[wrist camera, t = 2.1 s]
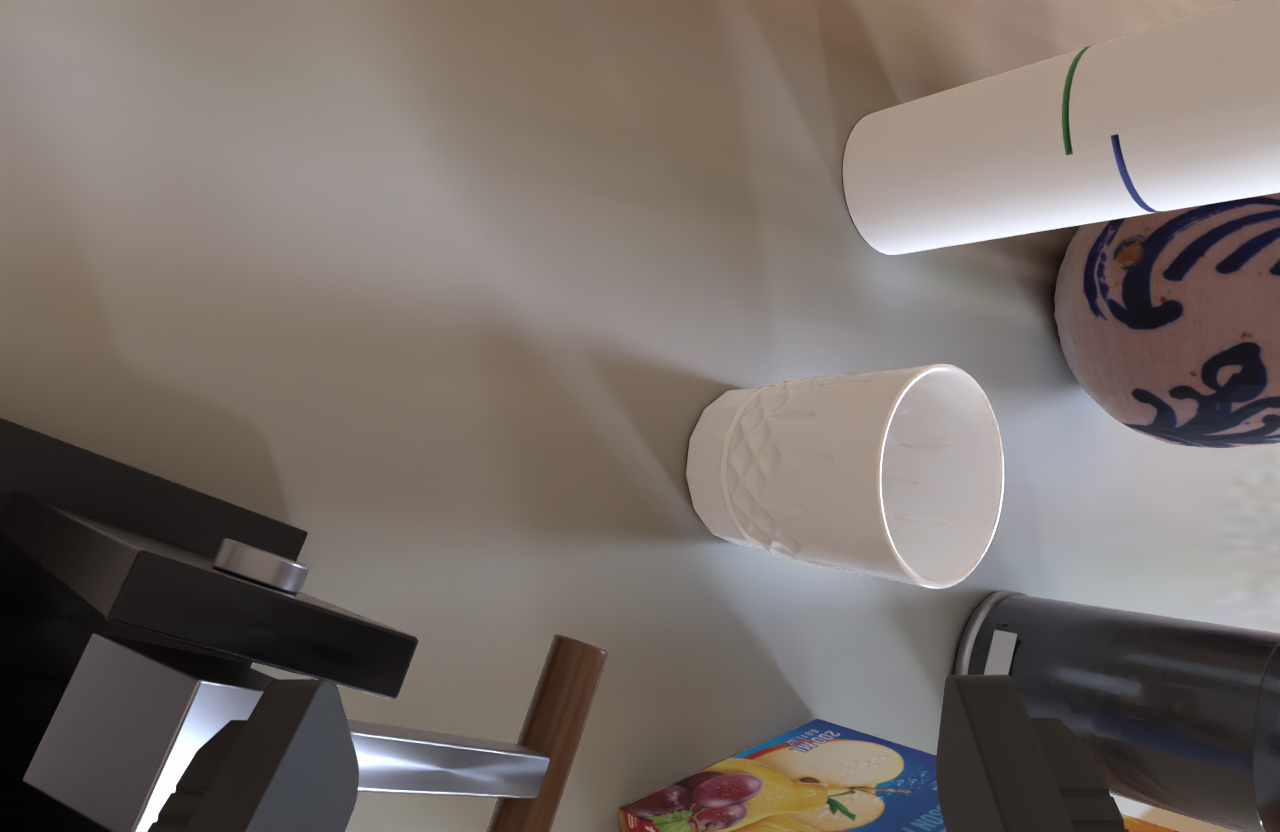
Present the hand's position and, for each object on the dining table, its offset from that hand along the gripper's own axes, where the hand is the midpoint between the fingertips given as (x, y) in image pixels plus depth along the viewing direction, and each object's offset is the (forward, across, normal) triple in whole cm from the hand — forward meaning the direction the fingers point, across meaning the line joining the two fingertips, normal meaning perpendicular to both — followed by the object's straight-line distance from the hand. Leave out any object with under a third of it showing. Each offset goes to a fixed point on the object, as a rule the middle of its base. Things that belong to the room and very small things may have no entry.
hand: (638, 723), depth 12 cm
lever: (+5, -7, -5) cm, 10 cm away
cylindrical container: (+39, +10, -3) cm, 40 cm away
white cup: (+26, +2, -12) cm, 29 cm away
